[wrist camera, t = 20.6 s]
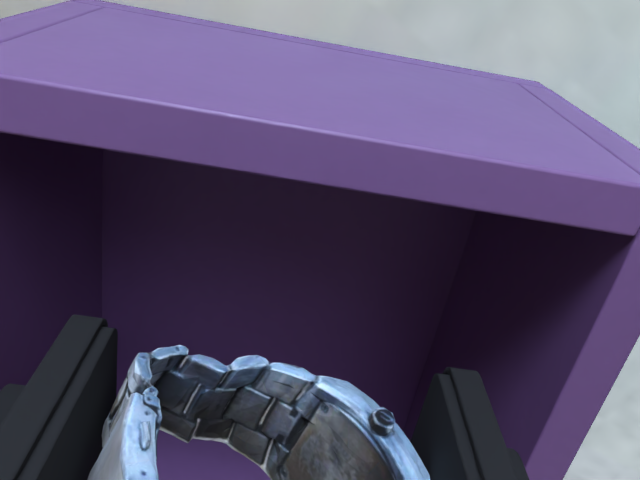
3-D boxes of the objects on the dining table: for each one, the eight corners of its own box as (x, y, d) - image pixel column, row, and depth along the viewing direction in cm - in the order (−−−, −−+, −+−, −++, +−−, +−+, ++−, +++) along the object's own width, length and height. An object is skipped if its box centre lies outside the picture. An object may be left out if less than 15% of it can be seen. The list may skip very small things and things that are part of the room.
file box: (80, -4, 17) (-131, 51, 9) (539, 81, 18) (715, 197, 10) (85, 405, 24) (-30, 636, 16) (411, 447, 25) (455, 681, 17)
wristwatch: (237, 400, 13) (390, 606, 10) (-2, 446, 9) (152, 804, 6) (306, 293, 12) (493, 489, 9) (76, 290, 8) (292, 632, 5)
